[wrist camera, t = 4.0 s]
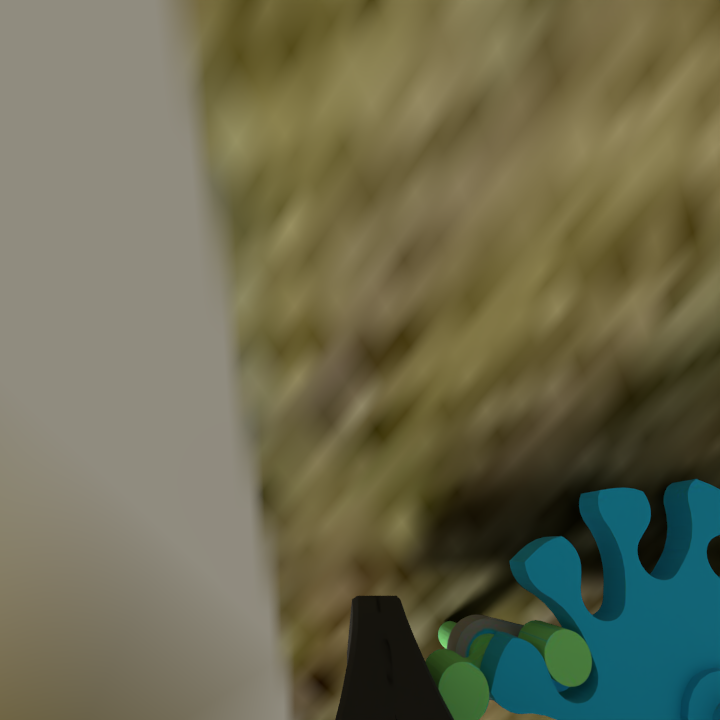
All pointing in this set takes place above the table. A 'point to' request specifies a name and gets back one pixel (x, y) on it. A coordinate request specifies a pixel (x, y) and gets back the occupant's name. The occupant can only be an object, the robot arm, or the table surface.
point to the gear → (602, 623)
